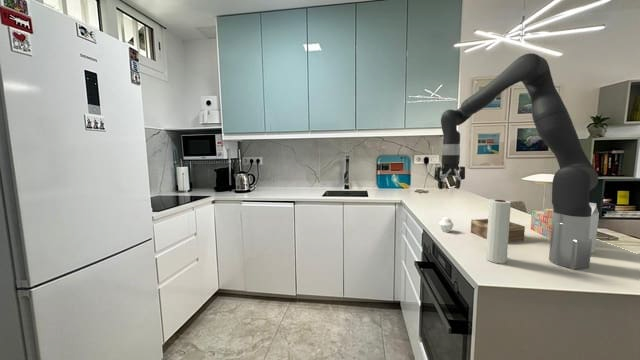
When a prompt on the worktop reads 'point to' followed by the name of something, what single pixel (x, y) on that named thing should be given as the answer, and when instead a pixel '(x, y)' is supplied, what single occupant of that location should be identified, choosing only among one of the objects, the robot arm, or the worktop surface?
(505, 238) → the paper towel roll
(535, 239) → the worktop surface
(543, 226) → the stack of blocks
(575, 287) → the worktop surface
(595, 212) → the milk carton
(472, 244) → the worktop surface
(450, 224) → the white ribbed cup
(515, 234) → the wooden tray
